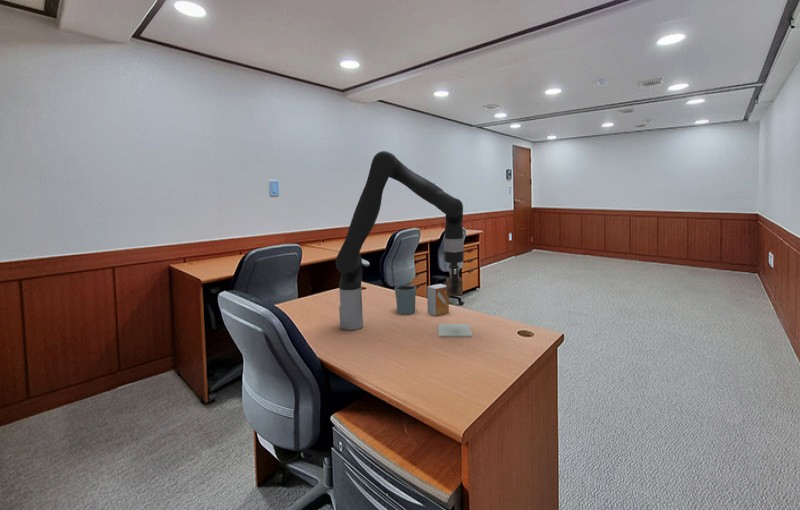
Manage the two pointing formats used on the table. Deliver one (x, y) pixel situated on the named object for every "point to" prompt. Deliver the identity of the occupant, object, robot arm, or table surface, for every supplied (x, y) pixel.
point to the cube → (449, 287)
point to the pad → (454, 330)
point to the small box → (437, 300)
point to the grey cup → (405, 299)
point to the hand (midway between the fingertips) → (454, 291)
